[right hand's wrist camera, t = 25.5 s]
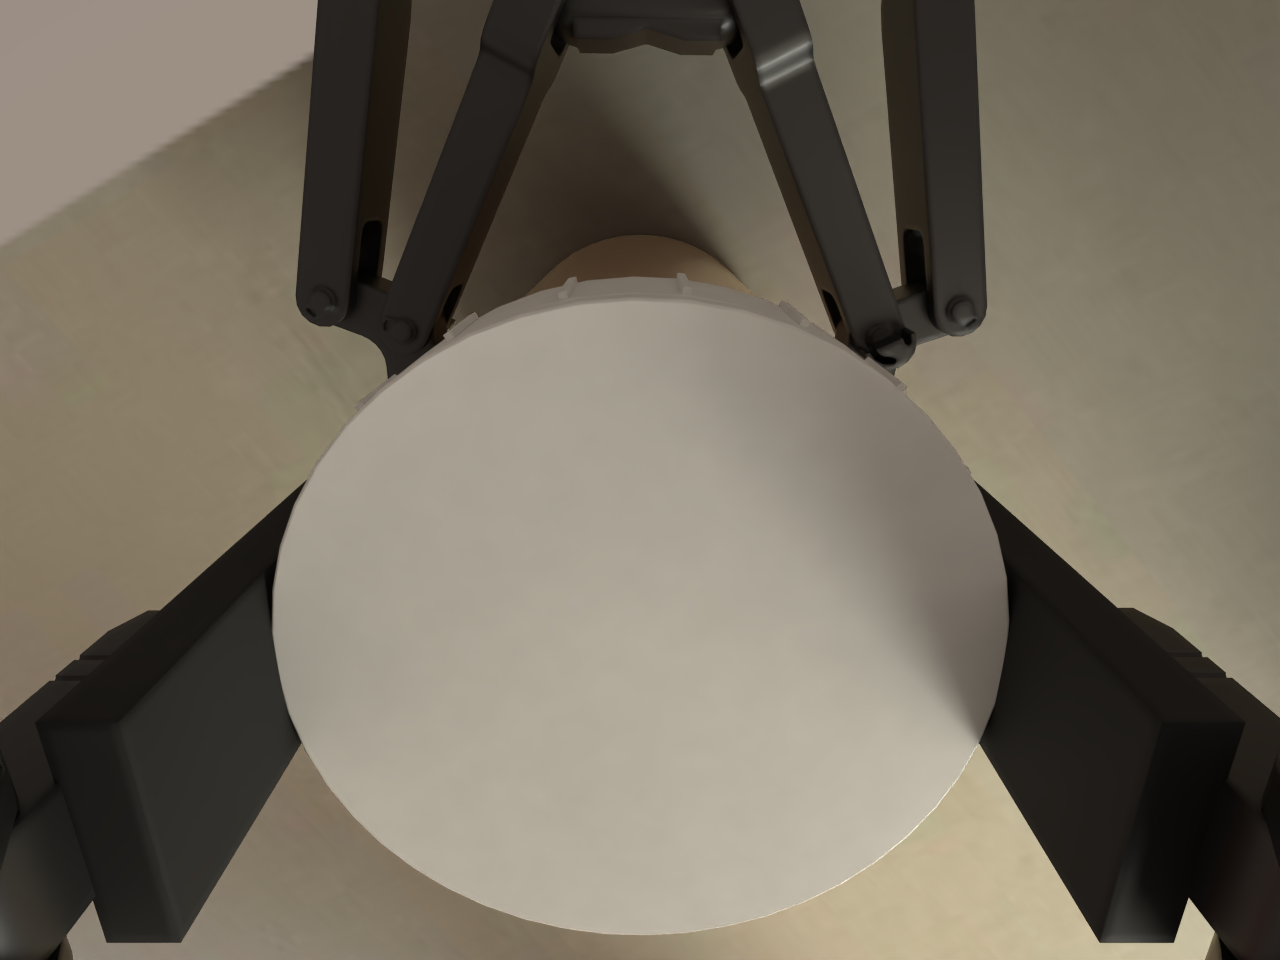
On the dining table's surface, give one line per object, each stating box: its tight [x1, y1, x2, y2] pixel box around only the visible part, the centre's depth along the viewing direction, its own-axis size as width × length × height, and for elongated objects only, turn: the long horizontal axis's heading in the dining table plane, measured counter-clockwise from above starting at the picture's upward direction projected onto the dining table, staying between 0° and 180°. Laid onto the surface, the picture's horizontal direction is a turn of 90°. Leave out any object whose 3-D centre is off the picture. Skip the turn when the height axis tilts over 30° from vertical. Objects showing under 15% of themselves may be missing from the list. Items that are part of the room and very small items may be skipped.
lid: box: [272, 273, 1009, 935], centre depth 11 cm, size 10×10×2 cm
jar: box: [523, 235, 756, 298], centre depth 19 cm, size 9×9×17 cm
